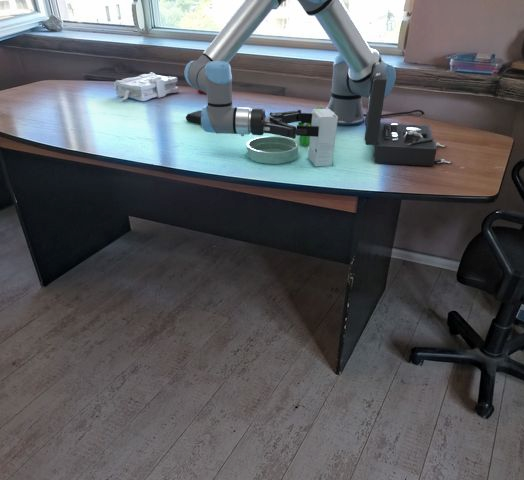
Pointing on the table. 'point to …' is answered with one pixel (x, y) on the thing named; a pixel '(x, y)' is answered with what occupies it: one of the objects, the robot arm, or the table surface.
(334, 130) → the cosmetic box
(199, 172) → the table surface
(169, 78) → the white irregular flat block
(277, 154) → the bowl
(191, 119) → the carrying case
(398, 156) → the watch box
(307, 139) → the fruit basket
